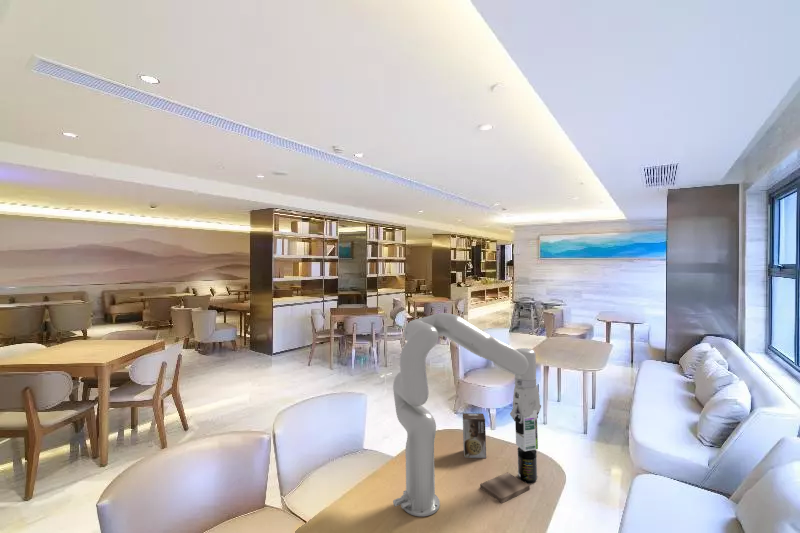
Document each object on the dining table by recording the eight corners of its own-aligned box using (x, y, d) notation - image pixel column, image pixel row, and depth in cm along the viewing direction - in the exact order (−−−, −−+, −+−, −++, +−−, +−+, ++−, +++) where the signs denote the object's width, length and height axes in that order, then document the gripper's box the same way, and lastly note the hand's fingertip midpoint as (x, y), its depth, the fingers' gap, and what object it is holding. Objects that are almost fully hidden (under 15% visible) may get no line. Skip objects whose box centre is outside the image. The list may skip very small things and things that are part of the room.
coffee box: (484, 450, 155) (483, 413, 156) (486, 458, 149) (485, 419, 149) (463, 450, 156) (462, 412, 156) (464, 457, 150) (463, 418, 150)
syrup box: (524, 452, 131) (523, 411, 131) (515, 444, 136) (514, 405, 137) (538, 449, 132) (537, 409, 132) (528, 442, 138) (527, 404, 138)
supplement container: (540, 483, 131) (540, 454, 131) (523, 484, 130) (522, 455, 130) (531, 472, 138) (531, 445, 138) (514, 474, 137) (514, 446, 137)
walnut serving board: (501, 503, 120) (501, 498, 120) (480, 488, 128) (480, 483, 128) (529, 489, 127) (529, 485, 127) (507, 476, 136) (507, 472, 136)
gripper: (517, 389, 127) (518, 440, 127) (549, 381, 136) (550, 428, 136) (501, 383, 133) (502, 432, 133) (532, 376, 142) (533, 422, 142)
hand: (526, 430), depth 134 cm, fingers closed on syrup box, 6 cm apart
